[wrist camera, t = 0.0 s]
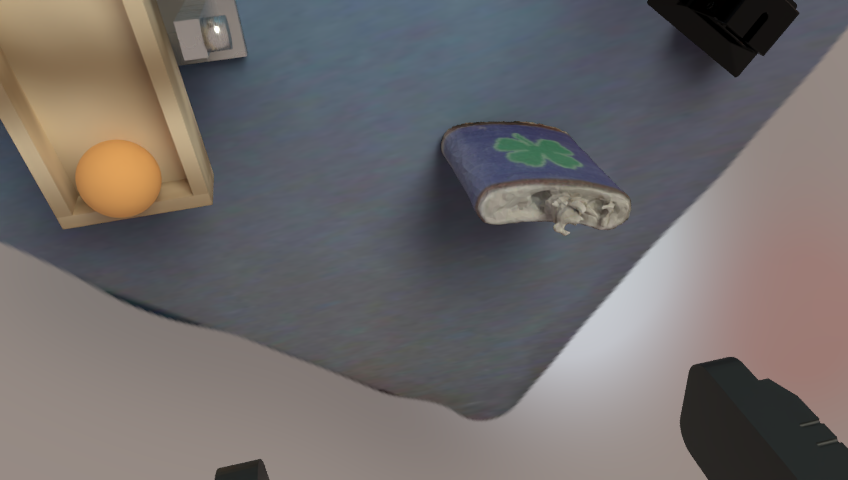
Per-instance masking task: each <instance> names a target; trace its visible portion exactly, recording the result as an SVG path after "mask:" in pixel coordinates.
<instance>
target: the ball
mask: <svg viewBox="0 0 848 480" xmlns="http://www.w3.org/2000/svg"><path fill="white" fill-rule="evenodd" d="M75 181H76V186H77V190H78V192H79V194H80V196H81V198H82V199H83V200H84V202H85V203H86V204H87V205H88V206H89V207H91V208H92V209H93V210H95V211H96V212H98V213H100V214H102V215H105V216H108V217H114V218H127V217H132V216H135V215H138V214H140V213H142V212H144V211H145V210H147V209H148V208H149V207H150V206H151V205H152V204H153V203H154V202H155V200H156V199H157V197H158V195H159V192H160V189H161V184H162V177H161V171H160V168H159V166H158V164H157V162H156V160H155V159H154V157H153V156H152V155H151V154H150V153H149V152H148V151H147V150H146V149H144V148H143V147H142V146H140V145H138V144H136V143H133V142H130V141H126V140H108V141H103V142H100V143H98V144H96V145H94V146H93V147H91V148H90V149H88V150H87V151H86V152H85V153H84V154H83V156H82V157H81V159H80V160H79V163H78V165H77V168H76V174H75Z"/></svg>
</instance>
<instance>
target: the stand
mask: <svg viewBox="0 0 848 480" xmlns="http://www.w3.org/2000/svg"><path fill="white" fill-rule="evenodd" d="M156 1H157V4H158V7H159V10H160V13H161V16H162V19H163V22H164V25H165V28H166V31H167V34H168V37H169V40H170V43H171V46H172V49H173V52H174V55H175V58H176V61H177V65H178V66H180V65H187V64H195V63H202V62H209V61H216V60H224V59H231V58H238V57H245V56H247V48H246V44H245V39H244V35H243V31H242V26H241V22H240V18H239V13H238V9H237V5H236V0H156Z"/></svg>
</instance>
